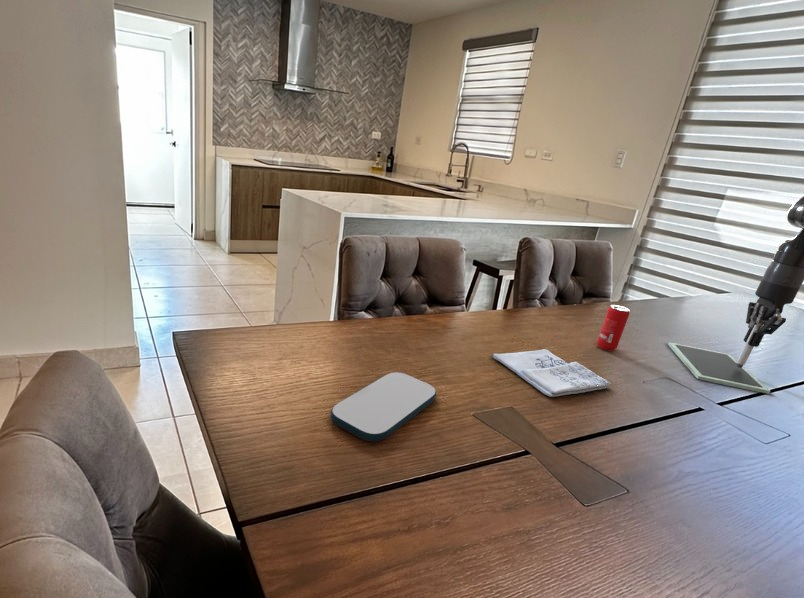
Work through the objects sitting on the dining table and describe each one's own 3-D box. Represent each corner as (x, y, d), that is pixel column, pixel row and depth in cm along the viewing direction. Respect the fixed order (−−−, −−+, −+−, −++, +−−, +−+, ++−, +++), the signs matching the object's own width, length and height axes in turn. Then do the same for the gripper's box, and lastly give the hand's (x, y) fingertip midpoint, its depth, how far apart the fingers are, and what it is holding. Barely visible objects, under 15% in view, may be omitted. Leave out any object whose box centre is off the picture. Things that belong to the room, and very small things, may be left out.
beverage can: (592, 342, 135) (606, 303, 130) (610, 344, 135) (624, 305, 130) (600, 350, 130) (615, 310, 125) (619, 352, 130) (634, 312, 125)
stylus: (741, 366, 127) (761, 325, 122) (744, 369, 125) (764, 327, 121) (733, 364, 127) (753, 324, 123) (736, 367, 126) (756, 326, 121)
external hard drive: (375, 449, 78) (376, 439, 77) (322, 420, 84) (323, 410, 83) (440, 398, 96) (442, 389, 95) (393, 376, 102) (394, 368, 101)
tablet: (728, 356, 137) (729, 353, 136) (769, 394, 116) (770, 390, 116) (667, 344, 140) (669, 341, 140) (697, 379, 119) (699, 375, 119)
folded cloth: (550, 400, 100) (553, 391, 100) (489, 357, 117) (491, 349, 116) (611, 389, 108) (614, 381, 107) (546, 351, 125) (548, 343, 124)
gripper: (815, 292, 110) (780, 358, 117) (783, 277, 122) (753, 337, 129) (779, 285, 112) (746, 351, 118) (751, 272, 124) (723, 331, 131)
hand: (750, 343), depth 124 cm, fingers closed on stylus, 2 cm apart
